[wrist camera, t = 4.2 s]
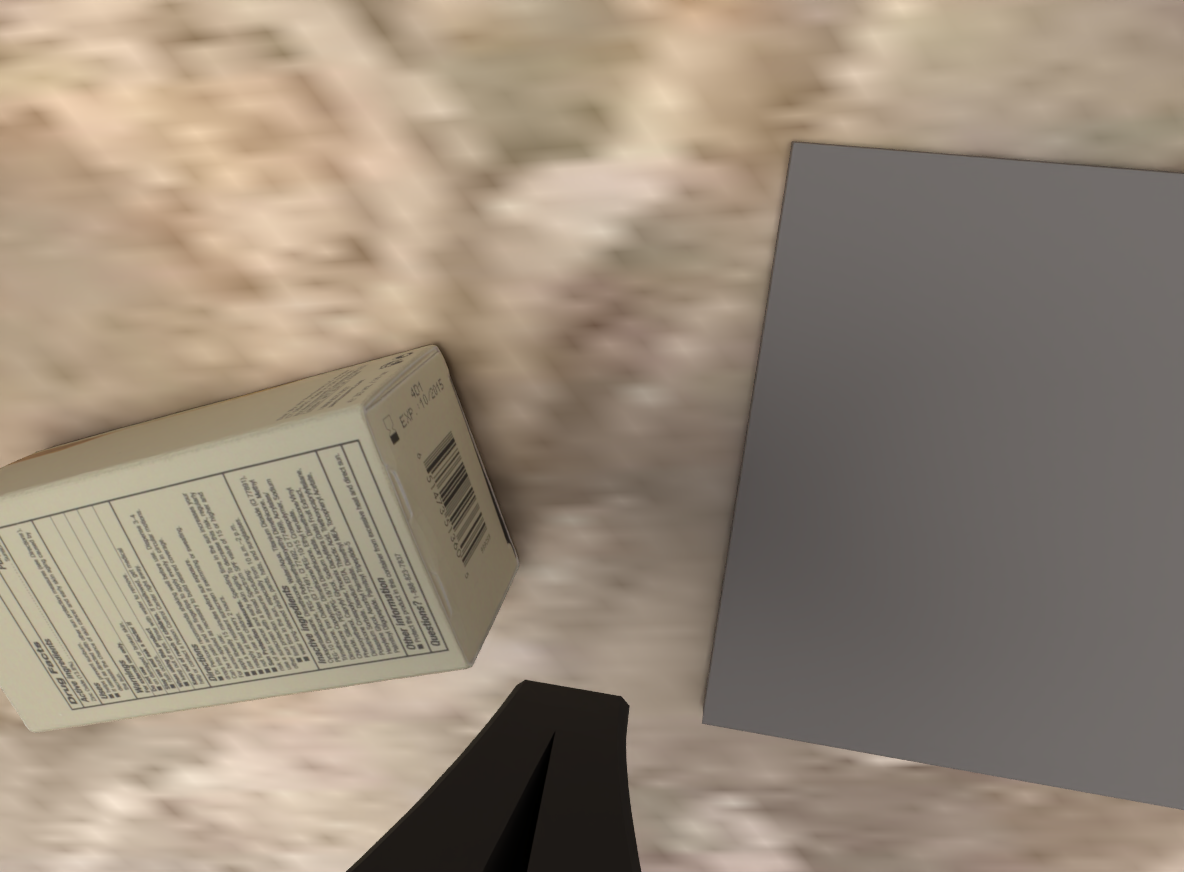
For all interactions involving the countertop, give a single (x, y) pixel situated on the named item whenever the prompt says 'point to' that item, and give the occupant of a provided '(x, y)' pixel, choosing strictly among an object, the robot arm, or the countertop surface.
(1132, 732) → the mat
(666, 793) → the countertop surface
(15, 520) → the skincare box
